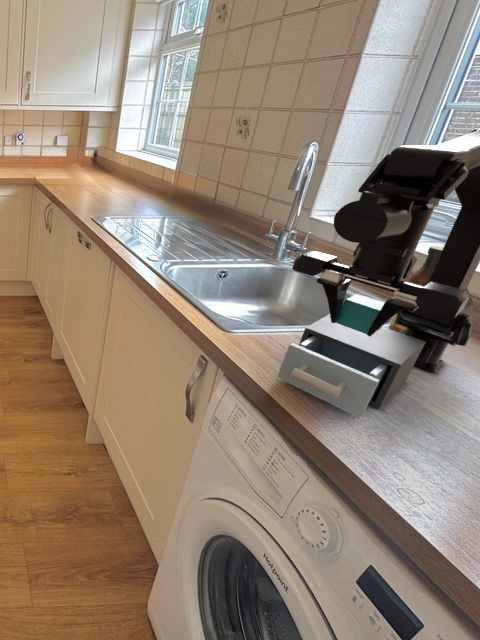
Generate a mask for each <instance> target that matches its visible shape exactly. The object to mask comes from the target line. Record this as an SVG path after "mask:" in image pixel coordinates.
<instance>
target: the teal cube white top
mask: <svg viewBox="0 0 480 640" xmlns="http://www.w3.org/2000/svg"><path fill="white" fill-rule="evenodd" d="M384 304H385V302H384V301H381V300H377V299H374V298H371V297H368V296H364V295H362V294H358V293H355V294H353V295H351V296H349V297H347V298H345V299H344V303H343V306H342V310H341V314H340V316H339V318H338V320H337V322H336V323H337V324H340V325H343V326H346V327H348V328H351V329H354V330H357V331H359V332H362V333H365V334H368V331H369V328H370V326H371V325H372V323H373V322H374V320H375V318H376V317H377V315H378V313H379V312H380V310H381V308H382V307H383V305H384ZM380 329H381V328H380ZM377 331H378V330H377Z"/></svg>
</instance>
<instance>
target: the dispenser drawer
mask: <svg viewBox="0 0 480 640" xmlns="http://www.w3.org/2000/svg"><path fill="white" fill-rule="evenodd" d="M299 343H300V342H299ZM391 368H392V366H390V365H387V364H385V363H382V362H380V361H377V360H375V359H372V358H370V357H367V356H365V355H362V354H360V353H357V352H355V351H352V350H350V349H347V348H345V347H342V346H340V345H337V344H335V343H332V342H330V341H327V340H325V339H322V338H320V337H317V336H315V335H314V336H312V337H310V338H309V339H307V340H305V341H304V342H302V343H300V345H299V344H296V343H294V342H291V343H289V344H288V346H287V350H286V352H285V354H284V358H283V359H282V363H281V365H280V368H279V370H278V373H277V377H276V378H278V379H279V380H281V381H283V382H286V383H287V384H290V385H291V386H294V387H295V388H298V389H300V390H301V391H303V392H305V393H308V394H310V395H312V396H314V397H315V398H318V399H320V400H321V401H324V402H325V403H328V404H330V405H332V406H334V407H336V408H338V409H340V410H341V411H343V412H346V413H348V414H350V415H352V416H354V417H357V418H358V419H361V418H362V417H363V416H364V414H365V413H366V410H367V408H368V405H369V401H370V399H371V398H372V397H373V396H374V395H375V394H376V393H377V392H378V391H380V390H381V388H382V386H383V384H384V382H385V380H386V378H387V376H388V374H389V372H390V370H391Z"/></svg>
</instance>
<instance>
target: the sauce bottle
mask: <svg viewBox="0 0 480 640" xmlns="http://www.w3.org/2000/svg"><path fill="white" fill-rule="evenodd" d="M443 248H444V246H436V245H431V246H429V248H428V249H427V256H426V258H425V260H424V262H423V263H422V266H421V268H419V269H418V270H416V271H415V272H412V274H411V275H410V277H408V283H411V284H415V285H419V286H423V285H425V284H427V283H428V281H429V279H430V277H431V275H432V272H433V270H434V268H435V266H436V263H437V261H438V259H439V257H440V254H441V252H442V250H443ZM397 314H398V313H397ZM397 314H396V315H394V316H393V317H392V318H391V319H390V322H389V323H390V325H389V326H388V329H390V330H393V331H396V332H399V333H402V334H404V333H405V331H406V329H407V327H404V326H402V325H398V324H395V322H396V318H397Z"/></svg>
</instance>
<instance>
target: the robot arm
mask: <svg viewBox="0 0 480 640" xmlns="http://www.w3.org/2000/svg"><path fill="white" fill-rule="evenodd" d="M357 192H358V193H361V194H360V197H359V200H355V201H351V202H348V203H346V204H344V205H343V206H341V207H340V209H339V210H338V211H336V212H335V215H334V217H333V227H334V230H335V232H336V233H337V234H338V236H340V237H341V239H343V240H345V241H348V242H350V243H351V242H352V243H355V244H356V243H358V244H357V246H356V247H355V249H354V251H353V253H352V256H353V257H354V258H353V261H352V263H351V265H346V264H341V263H338V256H335V255H331V254H327V253H323V252H320V251H315V250H311V251H308V252H305V253H302V254H300V255H298V256H296V258H295V259H294V261H293V265H292V268H291V269H292V270H293V271H294V272H297V273H301V274H304V275H308V276H310V277H314V276H318V275H320V276H319V277H318V278H317V279H316V283H317V284H320V285H322V287H323V290H324V294H325V297H326V300H327V304H328V310H329V314H330V317H331V322H332V323H336V322H337V320H338V318H339V316H340V314H341V310H342V306H343V304H344V301H345V299H346V296H347V291H348V289H349V287H350V285H351V284H352V281H353V282H358V283H360V284H364V285H368V286H371V287H375V288H378V289H381V290H385V291H388V292H392V293H393V294H392V295H393V296H391V297H390V298H389V299H387V300H385V302H384V303H385V304H384V305H383V307H382V308H381V310H380V312H379V313H378V315H377V317H376V318H375V320H374V322H373V323H372V325H371V326H370V328H369V331H368V334H367V336H372V335H373V334H374V333H375V332H376V331H377V330H379V329H380V328H381V327H384V325H385V324H387V323H388V321H390V320H392V318H393V316H394V315H396V314H397V313H398V314H397V318H396V322H395V324H398V325H402V326H404V327H407V329H406V331H405V333H404V335H407V336H410V337H413V338H416V339H419V340H422V341H425V344H424V346H423V348H422V350H421V352H420V354H419V356H418V358H417V360H416V362H415V364H414V366H416V367H417V368H421V369H424V370H426V371H429V372H432V373H436V372H437V371H438V369H440V368H441V366H442V365H443V364H444V362H445V361H444V360H443V359H441V358H442V356H443V355H444V353H445V351H446V349H447V348H448V346H449V345H450V346H461V347H465V346H466V347H467V344H468V343H469V340H470V338H471V336H472V333H473V317H472V315H470V314H471V313H472V311H473V308H474V301H473V299H472V295H471V294H470V292H469V289H468V287H469V285H470V282H471V280H472V278H473V276H474V274H475V272H476V270H477V268H478V266H479V264H480V128H474V129H473V130H471V132H470V133H467V134H464V135H462V136H459V137H456V138H453V139H450V140H447V141H445V142H442V143H439V144H436V145H418V144H417V145H416V144H415V145H412V144H411V145H400V146H398V147H396V148H394V149H393V150H391V152H389V153H387V154H386V155H385V156H384V157H383V158H382V159H381V161H379V163H378V164H377V166H376V167H375V168H374V169H373V170H372V172H371V173H370V174H369V176H368V177H367V178H366V179H365V180H364V182H363V183H362V184H361V186H359V189H358V191H357ZM453 192H455V194H456V197H457V198H458V202H459V203H460V205H461V207H460V210H459V212H458V214H457V216H456V218H455V221H454V223H453V225H452V226H451V227H452V228H451V230H450V232H449V234H448V236H447V238H446V242H445V244H444V245H443V247H444V248H443V250H442V252H441V254H440V257H439V259H438V261H437V263H436V266H435V268H434V270H433V272H432V275H431V277H430V279H429V281H428V283H427V284H425V285H423V286H419V285H415V284H411V283H408V282H407V281H403V280H402V279H404V280H406V279H408V278H409V275H410V274H411V272H412V271H413V269H414V266H415V265H416V263H417V261H418V258H417V257H416V256H415V252H416V249H417V247H418V245H419V243H420V240H421V238H422V236H423V235H424V232H425V230H426V228H427V226H428V223H429V221H430V219H431V217H432V215H433V212H434V209H435V207H438V206H439V205H440V201H441V200H443V201H444V200H446V199H447V198H448V197H449V196H450V195H451V194H452V193H453Z"/></svg>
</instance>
